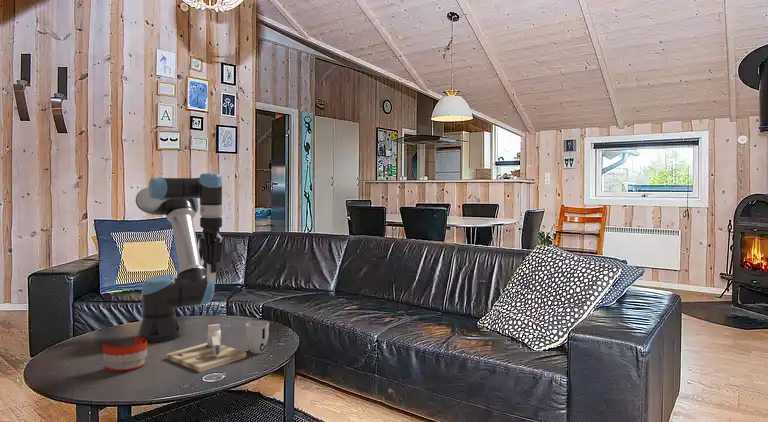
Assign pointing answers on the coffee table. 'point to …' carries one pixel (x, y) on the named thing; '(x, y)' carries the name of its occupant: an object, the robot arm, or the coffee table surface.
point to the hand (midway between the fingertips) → (211, 281)
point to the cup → (257, 336)
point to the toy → (125, 356)
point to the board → (205, 357)
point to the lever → (214, 338)
